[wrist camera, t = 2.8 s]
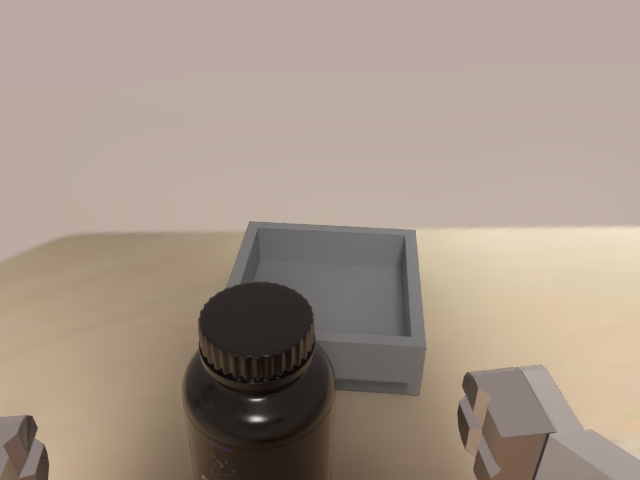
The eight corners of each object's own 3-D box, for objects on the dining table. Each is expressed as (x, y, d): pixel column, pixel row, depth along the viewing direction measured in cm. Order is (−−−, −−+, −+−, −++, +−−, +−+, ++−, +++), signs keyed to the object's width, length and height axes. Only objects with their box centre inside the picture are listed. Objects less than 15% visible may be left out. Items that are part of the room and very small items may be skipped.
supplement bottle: (205, 570, 28) (171, 391, 21) (194, 449, 33) (165, 277, 26) (347, 536, 29) (358, 358, 22) (314, 426, 35) (315, 256, 28)
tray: (216, 381, 37) (210, 333, 35) (252, 263, 48) (249, 221, 46) (419, 395, 36) (426, 347, 34) (410, 272, 47) (415, 230, 45)
